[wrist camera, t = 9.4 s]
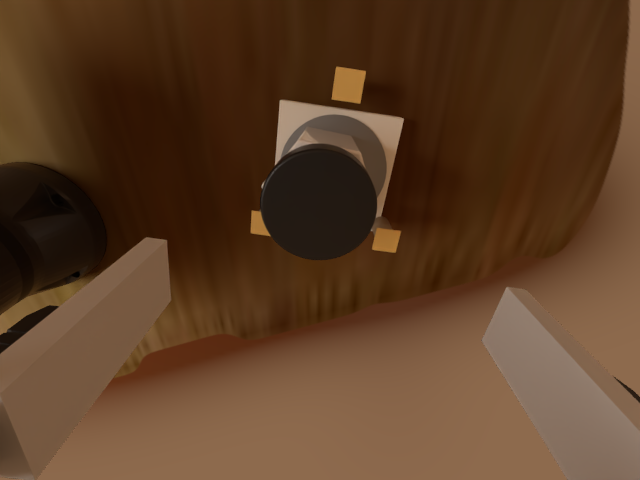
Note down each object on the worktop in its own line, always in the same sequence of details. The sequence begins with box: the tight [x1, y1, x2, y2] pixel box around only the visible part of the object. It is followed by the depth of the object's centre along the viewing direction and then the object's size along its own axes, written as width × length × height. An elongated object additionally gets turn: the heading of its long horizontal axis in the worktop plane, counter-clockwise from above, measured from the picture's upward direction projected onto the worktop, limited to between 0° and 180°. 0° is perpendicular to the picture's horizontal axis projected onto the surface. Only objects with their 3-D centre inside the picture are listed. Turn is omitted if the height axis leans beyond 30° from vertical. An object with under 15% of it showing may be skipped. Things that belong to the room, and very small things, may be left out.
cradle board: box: [251, 67, 404, 253], centre depth 31 cm, size 15×16×7 cm
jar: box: [260, 127, 377, 260], centre depth 27 cm, size 9×8×12 cm
